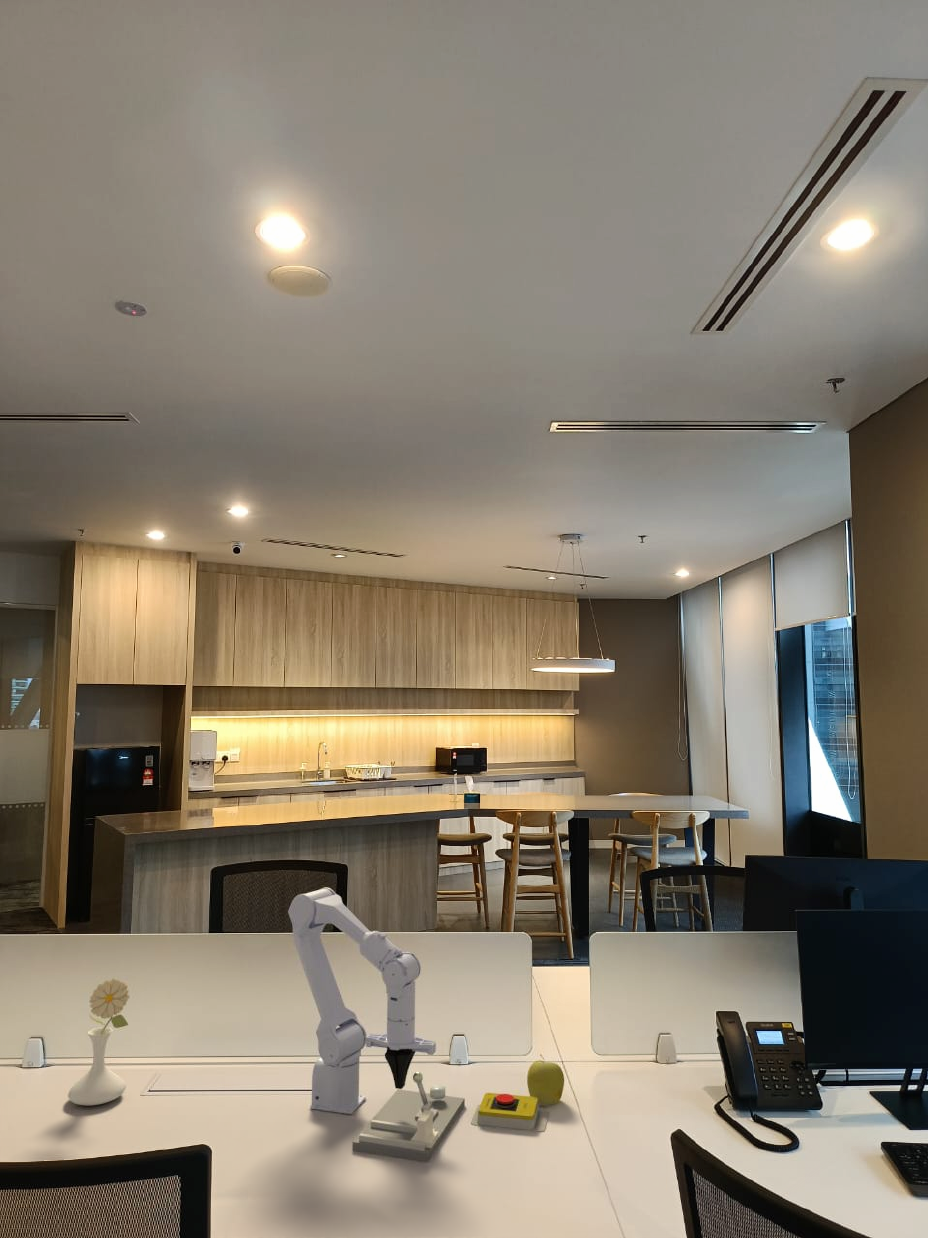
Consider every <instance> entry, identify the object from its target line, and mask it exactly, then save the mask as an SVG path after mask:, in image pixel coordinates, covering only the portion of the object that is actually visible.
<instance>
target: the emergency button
mask: <svg viewBox="0 0 928 1238" xmlns="http://www.w3.org/2000/svg"><path fill="white" fill-rule="evenodd" d="M549 1115H550V1113H549V1110H545V1109H540V1108H539V1105H538V1099H537V1098H536V1097H530V1095H529V1096H528V1095H517V1094H509V1093H495V1092H486V1093H484V1095H483V1098H482V1100H481V1103H480V1104H478V1105H477V1107H476V1109H475V1111H474V1114H473V1116H472V1118H471V1120H470V1124H471V1125H472V1126H477V1127H486V1128H495V1129H496V1128H497V1129H505V1130H507V1129H508V1130H517V1131H525V1132H535V1133H543V1132H545V1130H546V1128H547V1127H546V1126H547V1123H548V1119H549Z"/></svg>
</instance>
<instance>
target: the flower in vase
mask: <svg viewBox="0 0 928 1238" xmlns="http://www.w3.org/2000/svg"><path fill="white" fill-rule="evenodd" d="M128 988H129V987H128V984H126V982H123V981H121V980H119V979H116V978H112V979H110V980H105V981H104V982H102V983H99V984H98V985H97V987H96V989H93V992H92V995H90V999H89V1003H90V1006H89V1007H90V1008H91V1010H90V1013H88V1014H89V1016H90V1018H91V1020H92V1021H94V1022H97V1023H99V1024H101V1025H103V1026H102V1027H95V1028H92V1029H91V1030H89V1031H87V1035H88V1036H89V1038H90V1040H91V1043H92V1050H93V1051H92V1053H93V1056H92V1057H93V1059H92V1065H91V1067H90V1069H89V1071H88V1072H86V1073H85V1074H84V1075H83V1076H82V1077H80V1079H79V1080H77V1081H76V1082H75V1083H74V1084H73V1085H72V1086H71V1087H70V1089H69V1091H68V1094H67V1097H68V1099H69V1101H70V1102H71V1103H73V1104H75V1105H78V1106H79V1105H80V1106H97V1105H98V1106H99V1105H102V1104H106V1103H109V1102H111V1101H114V1100H115V1099H117V1098H119V1097H120V1096H122V1095H123V1093H124V1092H125V1090H126V1088H127V1086H126V1083H125V1080H124V1079H123V1078H121V1076H119V1075H117V1074H116V1073H114V1072H113V1071H112V1070H110V1069H109V1068H108V1067H107V1066H106V1061H105V1054H106V1048H107V1047H106V1046H107V1042H108V1040H109V1037H110V1035H111V1034H112V1033H113V1031H114V1030H113V1028H117V1029H119V1028H123V1027H127V1026H129V1024H128V1022H127V1019H126V1018H125V1017H124V1016H123V1014H120V1013H121V1012H122V1011H123V1010H124V1007H125V1006H126V1005H127V1002H128V1000H129V999H130V994H129V989H128ZM91 1014H93V1016H92V1015H91ZM94 1016H96V1017H100V1018H101V1019H104V1020H106V1019H107V1018H109V1020H108V1021H107V1022H106V1024H105V1023H104V1022H103V1021H102V1020H101V1019H99V1018H96V1017H94ZM110 1022H111V1024H112V1026H113V1028H111V1027H108V1025H109V1023H110Z"/></svg>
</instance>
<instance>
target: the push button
mask: <svg viewBox="0 0 928 1238" xmlns="http://www.w3.org/2000/svg"><path fill="white" fill-rule="evenodd" d="M429 1094H430V1097H431V1098H432V1099H443V1098H444V1097H445V1096H446V1086H445V1085H442V1084H433V1085H431V1086H430V1087H429Z"/></svg>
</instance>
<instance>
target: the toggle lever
mask: <svg viewBox="0 0 928 1238" xmlns="http://www.w3.org/2000/svg"><path fill="white" fill-rule="evenodd" d="M423 1078H424V1077H423V1074H422V1072H421V1071H416V1072H415V1073H413V1075H412V1080H413V1082H415V1083H416V1085H417V1088H418V1092H420V1095H421V1098H422V1102H423V1104H424V1105H423V1106H422V1108H421V1111H422V1113H423V1112H424V1110H429V1111H430V1109H431V1108H432V1106H433V1105H432V1102H431V1101H429V1100H428V1101H427V1097H426V1094H425V1093H426V1091H425V1087H424V1084H423V1080H424V1079H423Z"/></svg>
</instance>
